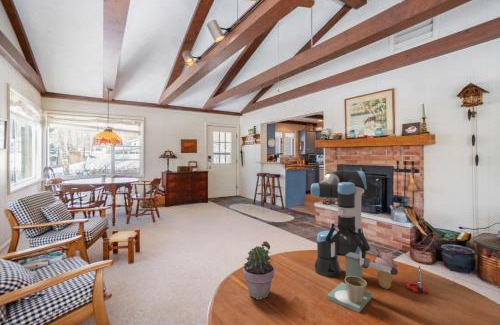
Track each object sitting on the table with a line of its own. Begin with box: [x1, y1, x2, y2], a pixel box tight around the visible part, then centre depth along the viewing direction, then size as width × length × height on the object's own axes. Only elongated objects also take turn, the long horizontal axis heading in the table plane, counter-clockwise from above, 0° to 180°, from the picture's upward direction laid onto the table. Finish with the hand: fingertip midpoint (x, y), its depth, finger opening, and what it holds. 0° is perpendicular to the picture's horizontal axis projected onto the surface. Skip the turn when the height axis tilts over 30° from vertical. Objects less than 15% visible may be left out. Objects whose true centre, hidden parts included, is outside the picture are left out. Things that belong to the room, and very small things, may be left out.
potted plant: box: [240, 241, 275, 300], centre depth 120 cm, size 18×20×25 cm
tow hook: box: [405, 265, 429, 294], centre depth 124 cm, size 8×13×9 cm
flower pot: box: [344, 276, 368, 303], centre depth 112 cm, size 9×9×9 cm
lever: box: [362, 257, 399, 276], centre depth 112 cm, size 16×3×4 cm, turn 45°
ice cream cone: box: [372, 248, 398, 290], centre depth 126 cm, size 11×11×20 cm
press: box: [326, 252, 373, 314], centre depth 116 cm, size 15×17×19 cm
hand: (346, 260), depth 114 cm, fingers open, 13 cm apart
